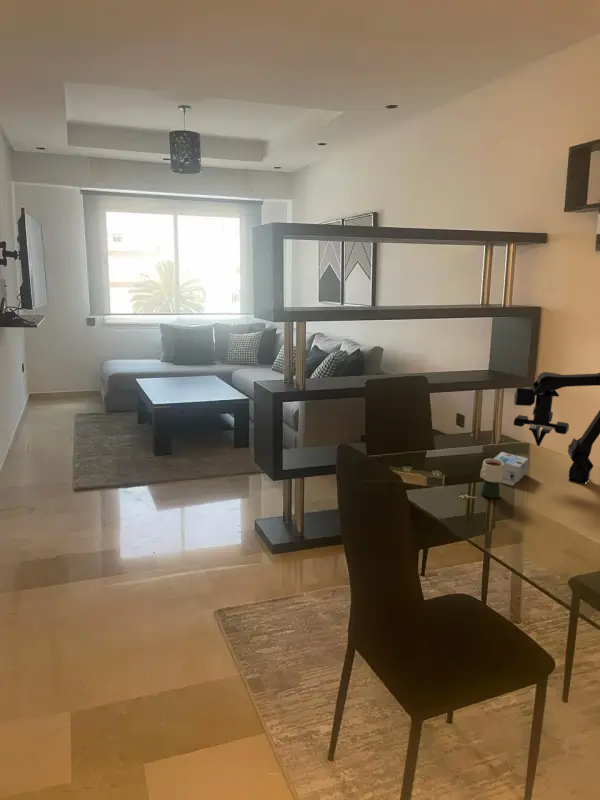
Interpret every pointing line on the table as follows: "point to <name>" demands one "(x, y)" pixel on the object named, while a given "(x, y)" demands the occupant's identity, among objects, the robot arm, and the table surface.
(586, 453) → the robot arm
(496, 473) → the character mug
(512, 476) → the light bulb box
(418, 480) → the table surface
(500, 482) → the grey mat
